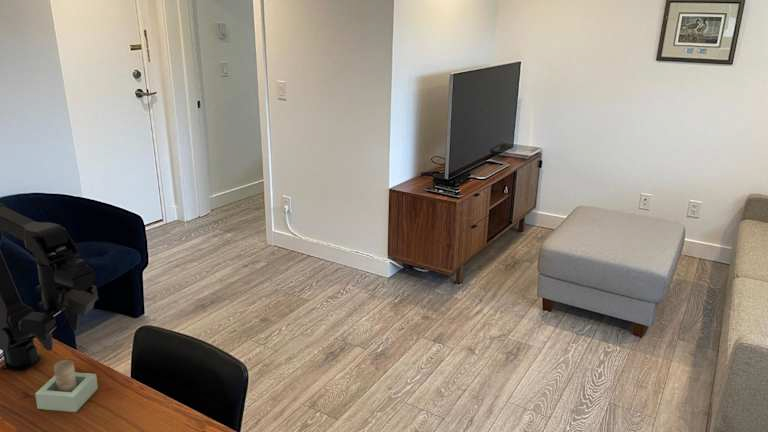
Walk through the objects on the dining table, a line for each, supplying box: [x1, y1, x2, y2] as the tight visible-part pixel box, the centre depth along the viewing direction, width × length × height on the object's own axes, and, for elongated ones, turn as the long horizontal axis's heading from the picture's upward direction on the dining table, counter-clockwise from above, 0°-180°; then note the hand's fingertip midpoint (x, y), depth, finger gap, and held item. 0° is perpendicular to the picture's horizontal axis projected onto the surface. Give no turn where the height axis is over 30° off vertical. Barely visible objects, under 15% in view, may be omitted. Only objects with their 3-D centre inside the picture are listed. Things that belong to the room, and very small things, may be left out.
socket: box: [34, 371, 99, 413], centre depth 134 cm, size 9×9×4 cm
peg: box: [53, 359, 77, 392], centre depth 133 cm, size 4×4×9 cm
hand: (62, 339), depth 137 cm, fingers open, 9 cm apart
